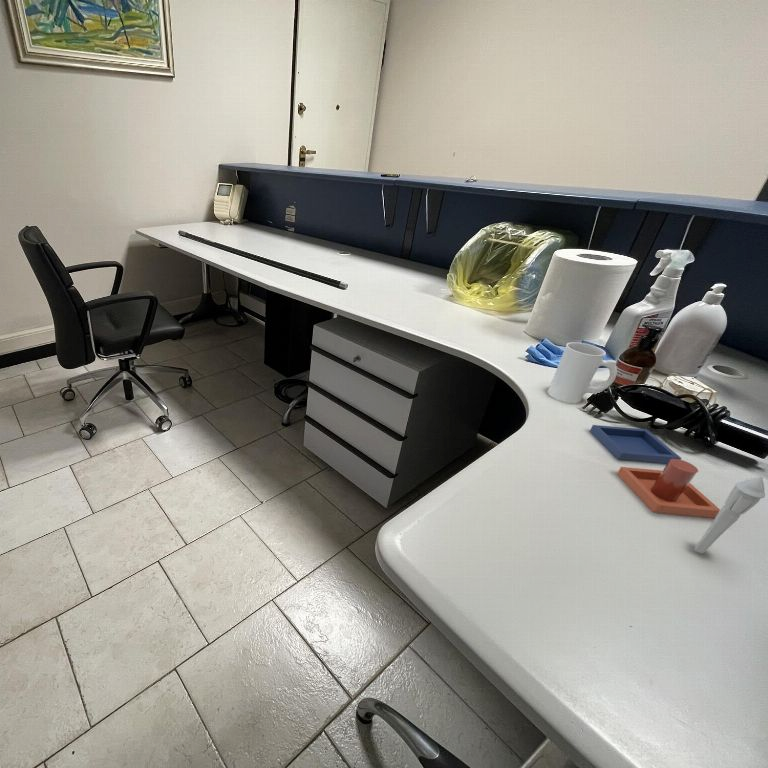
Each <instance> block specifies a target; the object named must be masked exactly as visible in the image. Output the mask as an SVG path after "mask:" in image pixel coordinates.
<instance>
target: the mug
mask: <svg viewBox="0 0 768 768" xmlns="http://www.w3.org/2000/svg"><path fill="white" fill-rule="evenodd" d="M606 354H607V352H606V351H605V350H604V349H602V348H600V347H598V346H596V345H593V344H589V343H585V342H575V341H573V342H568V343H566V346H565V347H564V350H563V353H562V355H561V358H560V360H559V362H558V365H557V367H556V370H555V372H554V375H553V377H552V380H551V382H550V385H549V387H548V390H547V394H548V395H549V396H550V397H552V399H555V400H558V401H559V402H564V403H567V404H568V403H569V404H578V403H581V401H582V399H583V397H584V395H585V394H592V395H596V394H597V393H600V392H601V393H602V392H603V391H605V390H606V389H608V388H609V387H610V386H612V384H613V383H614V381H615V380H616V377H617V372H618V371H617V360H613V359H608V360H606V359H604V357H605V356H606ZM600 367H605V368H607V369H608V370H609V376H608V378H607V379H606V380H605V382H604V383H602V384H600V385H598V386H593V385H592V384H591V382H592V380H593V378H594V376H595V374H596V373H597V370H598V369H599V368H600ZM601 393H600V394H601Z"/></svg>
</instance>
